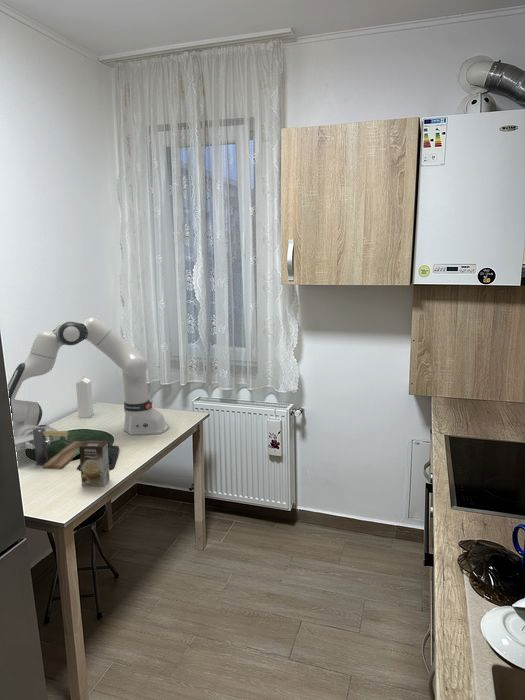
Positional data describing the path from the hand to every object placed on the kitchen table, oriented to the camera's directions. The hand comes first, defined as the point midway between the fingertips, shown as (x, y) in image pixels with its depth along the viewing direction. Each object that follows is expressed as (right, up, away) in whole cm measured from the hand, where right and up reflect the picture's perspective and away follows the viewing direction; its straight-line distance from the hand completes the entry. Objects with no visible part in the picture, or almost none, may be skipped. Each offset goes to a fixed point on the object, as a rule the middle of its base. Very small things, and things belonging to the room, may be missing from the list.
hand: (41, 445), depth 205 cm
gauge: (+4, -7, +2) cm, 9 cm away
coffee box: (+28, -12, -14) cm, 33 cm away
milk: (-3, +4, +61) cm, 61 cm away
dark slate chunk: (+23, -8, +6) cm, 25 cm away
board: (+7, -6, +10) cm, 14 cm away
